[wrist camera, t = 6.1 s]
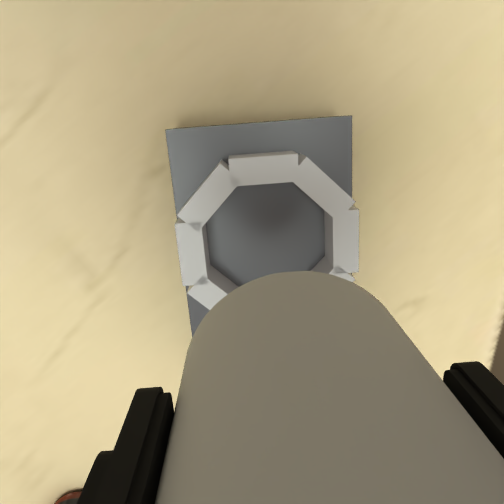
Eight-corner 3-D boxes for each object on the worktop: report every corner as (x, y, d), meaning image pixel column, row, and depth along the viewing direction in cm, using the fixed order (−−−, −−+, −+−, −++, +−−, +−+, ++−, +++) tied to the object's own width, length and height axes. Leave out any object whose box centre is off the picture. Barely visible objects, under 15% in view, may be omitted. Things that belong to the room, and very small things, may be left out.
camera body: (175, 128, 28) (153, 130, 21) (336, 116, 28) (370, 114, 21) (203, 359, 33) (194, 425, 26) (338, 348, 34) (366, 411, 26)
